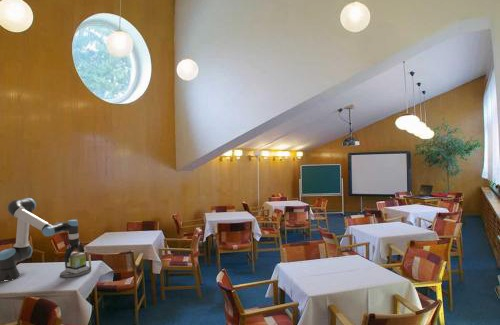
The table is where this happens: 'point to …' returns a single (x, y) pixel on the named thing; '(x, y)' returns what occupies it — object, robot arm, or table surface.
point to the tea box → (76, 263)
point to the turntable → (71, 275)
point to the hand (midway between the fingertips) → (75, 263)
